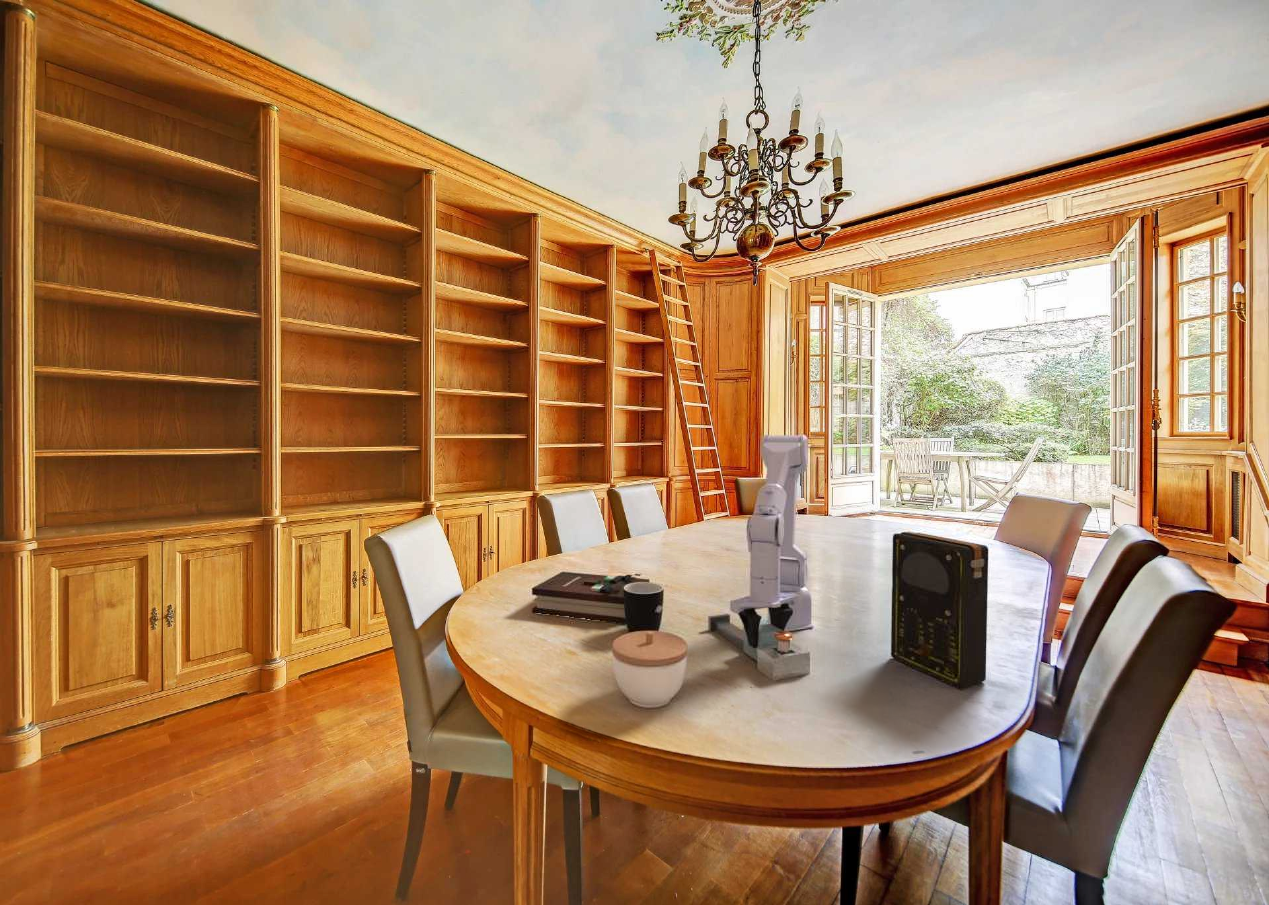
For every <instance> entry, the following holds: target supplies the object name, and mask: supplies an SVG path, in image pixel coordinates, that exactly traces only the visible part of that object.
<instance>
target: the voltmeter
mask: <svg viewBox="0 0 1269 905" xmlns="http://www.w3.org/2000/svg"><path fill="white" fill-rule="evenodd" d="M891 560H892V562H891V563H892V567H891V569H892V570H891V578H892V579H891V580H892V582H891V586H892V587H891V621H890V622H891V625H890V628H891V629H890V630H891V631H890V633H891V634H890V638H891V640H890V655H891V658H892V657H893V658H894V660H895V659H896V661H898V662H900V663H902V662H903V663H902V664H904V663H905V664H904V665H906V664H907V666H909V667H911V668H913V669H915V670H917V669H918V670H917V671H919V672H922V673H924V674H927V675H929V676H930V675H931V676H930V677H933V678H935V679H938V680H939V679H940V680H939V681H941V682H944V683H946V684H948V683H949V684H948V685H950V686H952V685H953V686H952V687H955V688H957V689H959V690H966V688H967V686H971V685H972V686H973V685H975V684H978V683H981V682H984V681H985V680H987V676H986V675H987V640H988V639H987V638H988V637H987V636H988V634H987V632H988V593H989V591H988V587H989V583H988V582H989V547H988V546H987V545H985V544H979V543H975V542H969V541H964V540H959V539H953V538H949V537H943V536H938V535H932V534H927V533H926V534H925V533H923V532H922V533H921V532H913V531H902V532H900V533H893V535H892V559H891Z"/></svg>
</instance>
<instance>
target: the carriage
mask: <svg viewBox="0 0 1269 905" xmlns="http://www.w3.org/2000/svg"><path fill="white" fill-rule="evenodd" d="M743 631H744V650H743V652H744V653H745V654H746V655H748V656H749V657H750V658H752V659H754V660H755V661H757V648H763V647H768V646H774V645H777V638H775V632H776V631H782V630H781V629H779V628H777V627H775V626H774V625H772V624H770V623H768V622H766V621H765V620H762V621H760V624H759V630H758V646H757V648H753V647H751V646H750V645H749V644H748V639H747V635H746V631H745V628H744V627H743Z"/></svg>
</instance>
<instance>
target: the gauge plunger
mask: <svg viewBox="0 0 1269 905" xmlns="http://www.w3.org/2000/svg"><path fill="white" fill-rule="evenodd" d="M793 637H794V636H793V633H792V632H791V631H776V632H775V638H777V652H778V653H779V654H781V655H783V654H789V653H790V643H791V641H792V640H793Z"/></svg>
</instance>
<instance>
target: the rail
mask: <svg viewBox="0 0 1269 905" xmlns="http://www.w3.org/2000/svg"><path fill="white" fill-rule="evenodd" d="M707 617H708V625H707V626H708V629H707V630H708V631H709V632H713V631H714V632H716V633H717V634H719V635H720V636H722V637H723V638H725V639H726V640H728V641H730V643H733V644H734V645H735V646H737V647H738V648H739V649H741V650H742V651H744V629H742V628H740V627H739V626H736V625H735V624H733V623H732V622H731V615H730V614H729V613H723V614H718V615H710V616H707Z"/></svg>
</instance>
